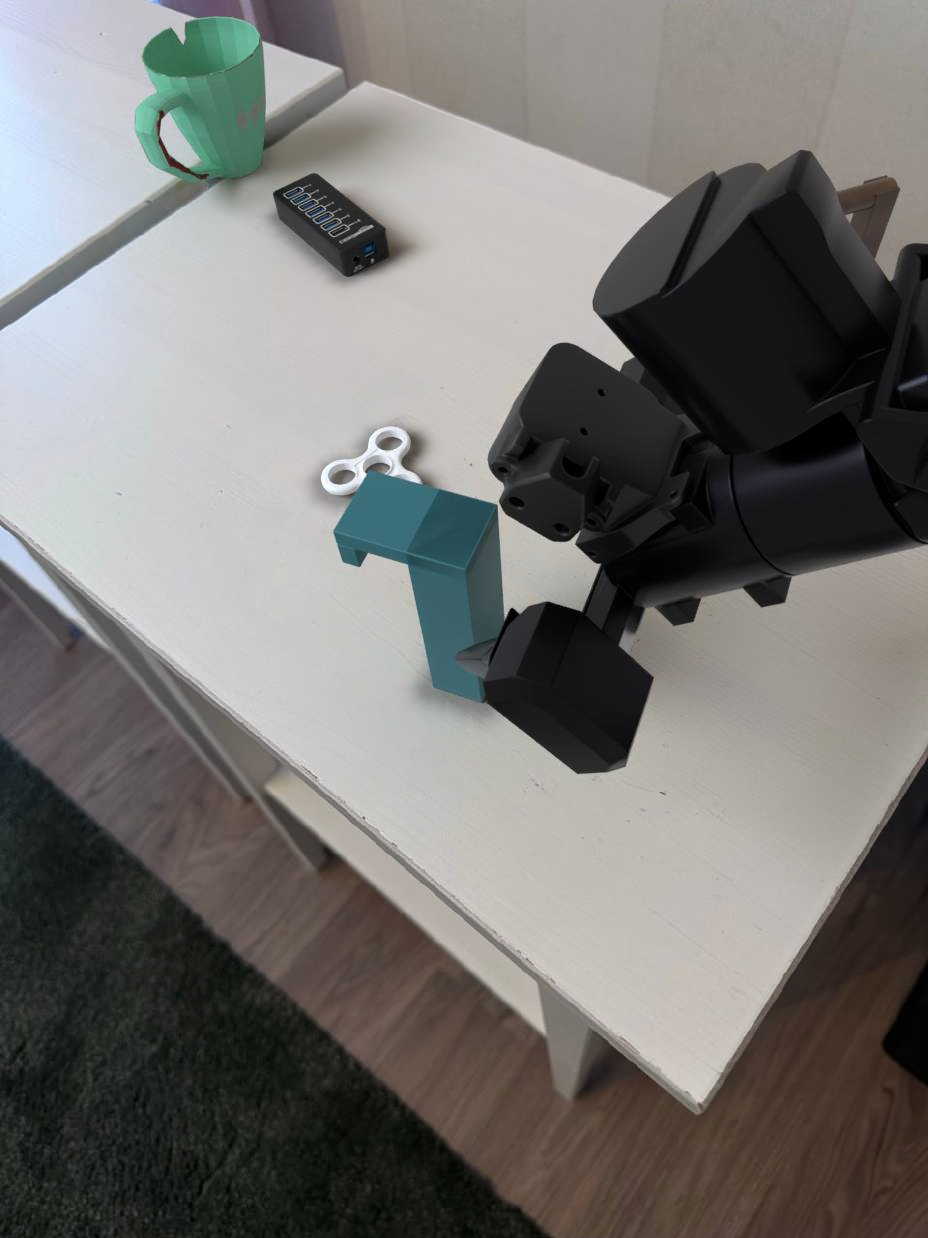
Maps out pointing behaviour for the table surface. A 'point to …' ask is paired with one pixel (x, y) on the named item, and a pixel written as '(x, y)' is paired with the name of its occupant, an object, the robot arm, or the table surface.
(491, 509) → the teal angular block
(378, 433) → the fidget spinner
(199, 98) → the mug
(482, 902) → the table surface
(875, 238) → the rack
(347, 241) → the multiport hub
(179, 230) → the table surface
